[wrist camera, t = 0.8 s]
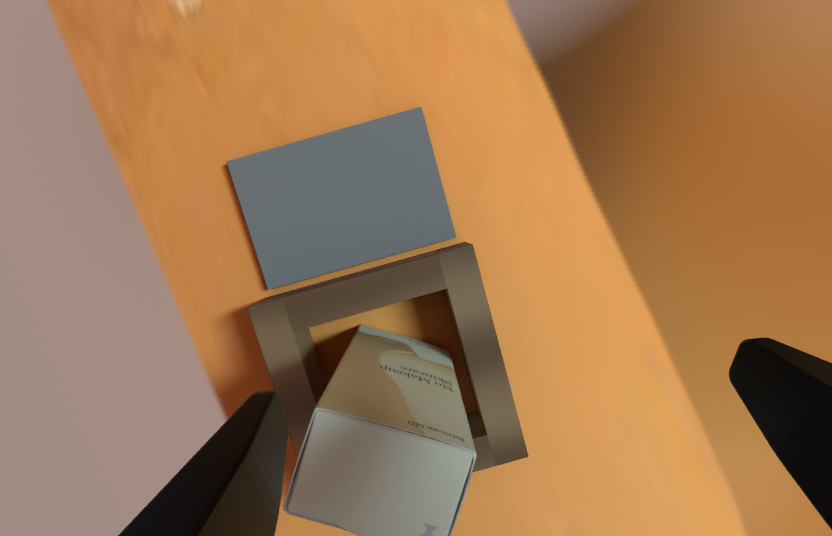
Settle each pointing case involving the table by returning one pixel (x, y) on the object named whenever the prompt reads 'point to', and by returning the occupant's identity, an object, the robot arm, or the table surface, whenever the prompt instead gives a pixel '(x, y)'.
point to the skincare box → (386, 442)
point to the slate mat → (342, 198)
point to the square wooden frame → (380, 286)
